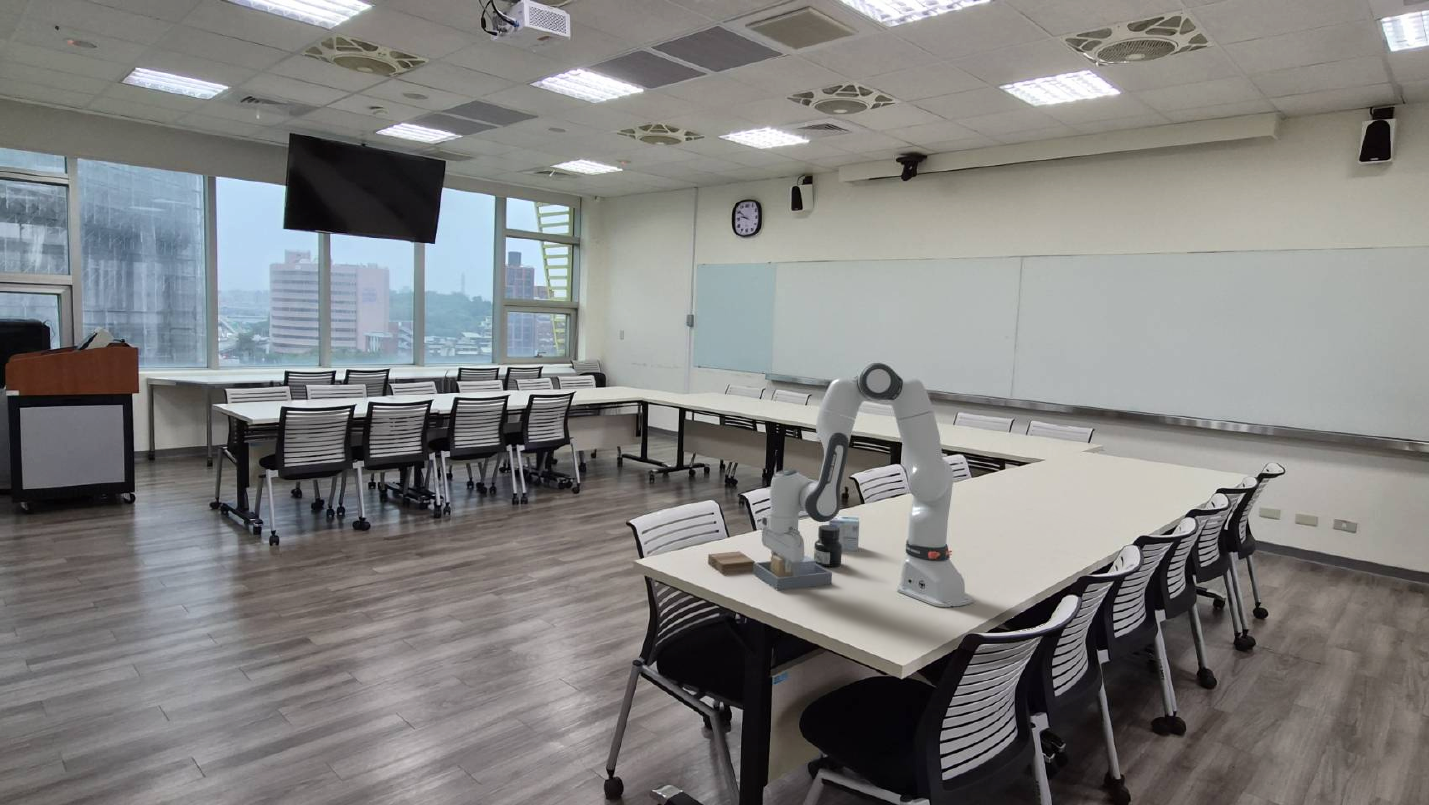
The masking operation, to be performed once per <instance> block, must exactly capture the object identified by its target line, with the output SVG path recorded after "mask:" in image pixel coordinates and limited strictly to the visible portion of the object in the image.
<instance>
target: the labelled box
mask: <svg viewBox="0 0 1429 805" xmlns="http://www.w3.org/2000/svg"><path fill="white" fill-rule="evenodd" d="M770 561H771V569H770V572H771V573H772V574H774V575H776V576H777V577H779V578H780V577H789V576H793V564H792V566H791V572H785V571H784V570H783V569H784V565H785V564H786V561H785V558H784V557H783V556H781V555H777V556H772V555H771V556H770Z"/></svg>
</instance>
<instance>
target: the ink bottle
mask: <svg viewBox="0 0 1429 805" xmlns="http://www.w3.org/2000/svg"><path fill="white" fill-rule="evenodd" d="M839 534H840V528H839V527H837V526H832V525H828V524H824V525H823V524H822V525H819V526H818V533H817V536H818V539H817V540H816V541H815V542H814V547H813V560H815V563H816V564H818V565H819V566H821V567H823V568H835V567H839V566H841V564H842V556H843V555H842V554H843V550H842V545H841V543H840V542H839V541H838V540H839Z"/></svg>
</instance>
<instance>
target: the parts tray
mask: <svg viewBox="0 0 1429 805" xmlns="http://www.w3.org/2000/svg"><path fill="white" fill-rule="evenodd" d="M770 569H771V560H769V561H759V562H755V563H753V571H752V575H754V576H755V575H756V576H755V577H757V578H758V577H759V578H758V579H760V580H761V581H763V580H764V581H765V582H764V581H763V582H764V583H766V584H767V583H768V584H769V585H768V584H767V585H768V586H769V587H771V586H773V587H774V588H776V589H777V590H776V589H775V590H776V591H782V590H781V589H785V590H790V589H791V588H793V589H802V588H810V587H817V586H826V585H832V582H833V581H832V580H833V572H831V571H830V570H828V569H826V567H823V566H820V565H818V564H816V563H815V574H807V575H798V576H789V577H780V578H779V577H777V576H776V575H774V574H772V573H771V572H770ZM773 587H772V588H773ZM799 587H800V588H799ZM801 587H802V588H801ZM774 588H773V589H774ZM789 588H790V589H789ZM779 589H780V590H779Z"/></svg>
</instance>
